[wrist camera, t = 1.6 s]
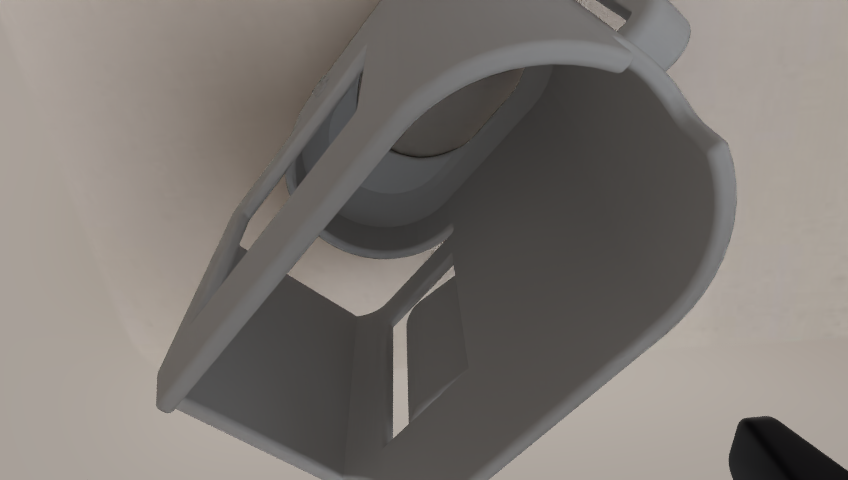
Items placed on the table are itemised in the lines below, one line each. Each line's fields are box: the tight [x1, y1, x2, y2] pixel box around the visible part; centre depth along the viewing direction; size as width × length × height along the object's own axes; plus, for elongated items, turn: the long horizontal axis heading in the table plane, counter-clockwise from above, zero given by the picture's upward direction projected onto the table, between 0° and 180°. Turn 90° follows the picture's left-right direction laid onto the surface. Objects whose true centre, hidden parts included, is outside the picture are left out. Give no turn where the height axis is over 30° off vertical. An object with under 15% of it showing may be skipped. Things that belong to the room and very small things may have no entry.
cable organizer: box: [156, 0, 737, 480], centre depth 16 cm, size 7×12×12 cm, turn 141°
